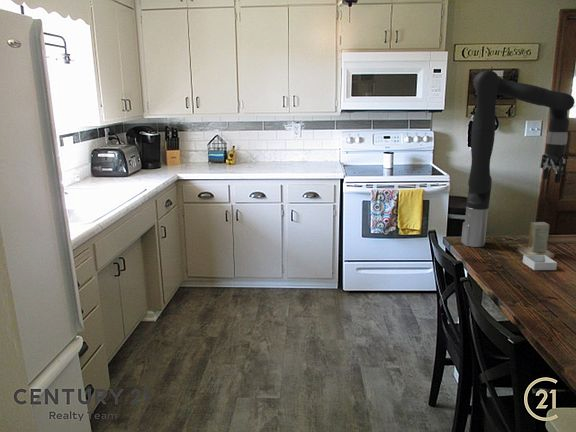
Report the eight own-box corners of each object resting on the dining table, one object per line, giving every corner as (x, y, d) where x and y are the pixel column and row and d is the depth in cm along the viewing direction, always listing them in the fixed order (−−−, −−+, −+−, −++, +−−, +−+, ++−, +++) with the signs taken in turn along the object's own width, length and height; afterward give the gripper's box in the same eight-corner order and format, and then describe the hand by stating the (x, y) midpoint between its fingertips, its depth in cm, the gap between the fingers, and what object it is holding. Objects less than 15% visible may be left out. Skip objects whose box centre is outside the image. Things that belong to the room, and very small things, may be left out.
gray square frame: (533, 270, 189) (534, 262, 189) (522, 262, 198) (523, 255, 197) (556, 269, 190) (557, 262, 189) (543, 261, 198) (544, 255, 197)
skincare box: (541, 249, 209) (545, 221, 206) (546, 252, 205) (550, 224, 202) (526, 249, 209) (530, 221, 206) (531, 252, 205) (535, 224, 202)
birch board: (528, 257, 203) (528, 254, 202) (517, 250, 212) (517, 247, 211) (553, 257, 203) (554, 254, 203) (542, 250, 212) (542, 247, 212)
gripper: (538, 140, 210) (533, 177, 214) (558, 144, 196) (552, 184, 200) (554, 140, 210) (549, 177, 215) (575, 144, 197) (569, 184, 201)
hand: (550, 180), depth 208 cm, fingers open, 8 cm apart
